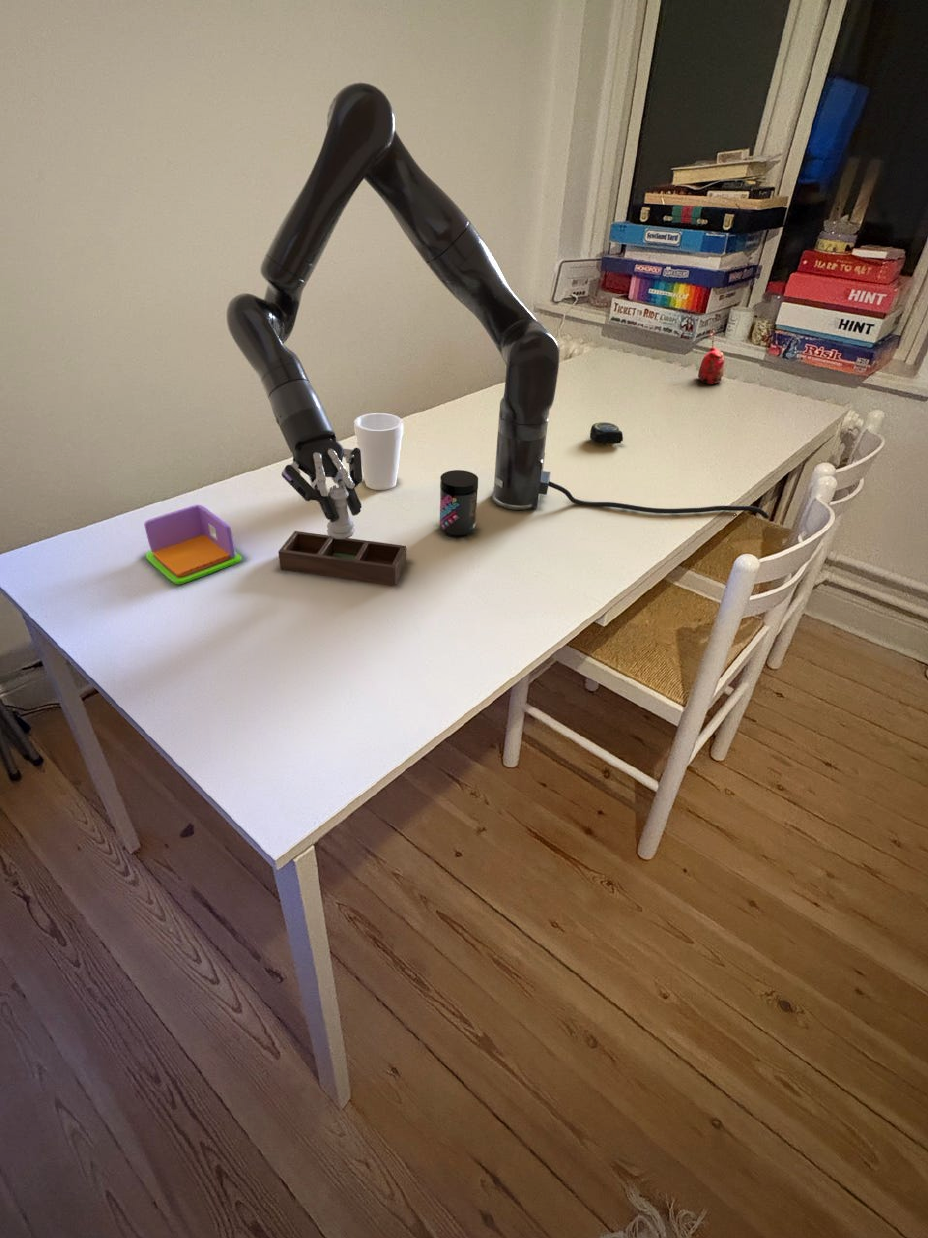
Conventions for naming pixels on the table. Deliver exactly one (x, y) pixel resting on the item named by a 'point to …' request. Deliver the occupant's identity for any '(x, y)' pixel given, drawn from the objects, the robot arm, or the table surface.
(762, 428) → the table surface
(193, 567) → the toy room diorama
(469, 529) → the supplement container
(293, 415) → the robot arm
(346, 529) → the rook chess piece
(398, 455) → the foam cup
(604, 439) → the tape measure
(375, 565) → the compartment tray
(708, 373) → the red clay folk toy
